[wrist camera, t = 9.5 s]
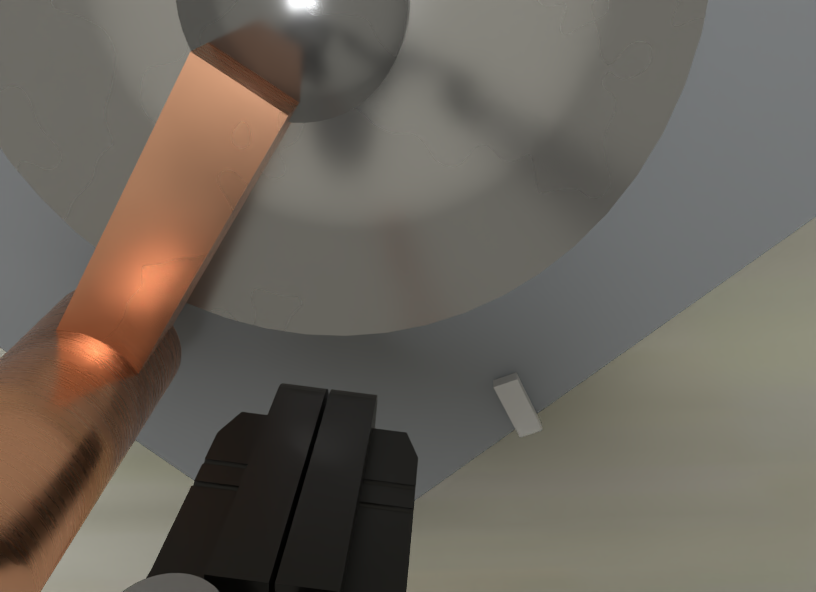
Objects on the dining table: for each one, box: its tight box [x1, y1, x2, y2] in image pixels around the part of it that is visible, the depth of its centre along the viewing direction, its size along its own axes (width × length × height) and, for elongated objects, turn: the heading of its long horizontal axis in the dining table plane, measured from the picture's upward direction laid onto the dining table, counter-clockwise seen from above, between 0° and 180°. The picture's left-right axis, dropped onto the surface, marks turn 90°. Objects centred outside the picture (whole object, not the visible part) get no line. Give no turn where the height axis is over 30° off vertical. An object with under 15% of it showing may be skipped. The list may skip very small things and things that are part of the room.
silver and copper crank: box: [0, 0, 708, 592], centre depth 9 cm, size 14×11×6 cm
